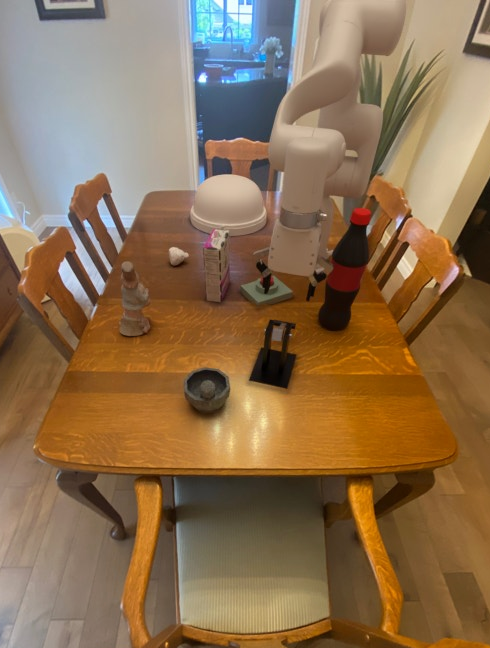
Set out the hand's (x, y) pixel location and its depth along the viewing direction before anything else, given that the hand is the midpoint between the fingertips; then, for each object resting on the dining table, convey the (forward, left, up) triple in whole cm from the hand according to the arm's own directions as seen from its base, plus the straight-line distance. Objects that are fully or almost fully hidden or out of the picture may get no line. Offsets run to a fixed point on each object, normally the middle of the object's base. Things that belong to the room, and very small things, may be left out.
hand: (287, 294), depth 83 cm
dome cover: (-25, -73, -15) cm, 78 cm away
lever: (+4, +4, -7) cm, 9 cm away
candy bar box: (+3, -29, -15) cm, 32 cm away
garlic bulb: (+6, -50, -15) cm, 52 cm away
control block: (-9, -21, -15) cm, 27 cm away
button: (-9, -21, -11) cm, 25 cm away
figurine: (+30, -24, -15) cm, 41 cm away
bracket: (+7, +7, -15) cm, 18 cm away
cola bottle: (-17, 0, -15) cm, 22 cm away
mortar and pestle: (+26, +10, -15) cm, 32 cm away
